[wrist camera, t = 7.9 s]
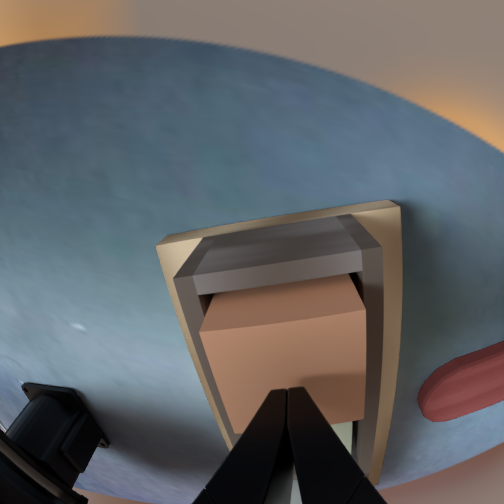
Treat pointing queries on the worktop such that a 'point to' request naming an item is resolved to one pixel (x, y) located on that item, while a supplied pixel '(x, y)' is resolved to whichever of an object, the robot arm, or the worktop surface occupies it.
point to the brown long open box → (297, 269)
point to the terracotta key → (289, 346)
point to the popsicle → (464, 385)
